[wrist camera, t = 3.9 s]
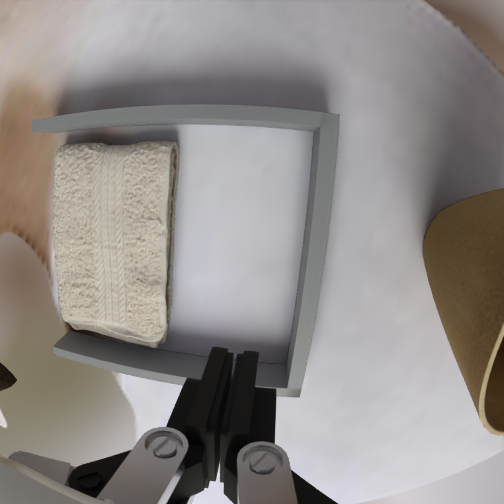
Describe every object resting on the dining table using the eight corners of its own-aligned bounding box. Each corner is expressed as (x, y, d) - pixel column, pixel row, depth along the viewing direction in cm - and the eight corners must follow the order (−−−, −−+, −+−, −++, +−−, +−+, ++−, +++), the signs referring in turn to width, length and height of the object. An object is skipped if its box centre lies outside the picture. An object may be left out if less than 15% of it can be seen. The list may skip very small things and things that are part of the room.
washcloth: (74, 318, 29) (59, 331, 26) (65, 143, 24) (45, 143, 21) (176, 340, 28) (167, 358, 25) (183, 141, 23) (171, 139, 20)
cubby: (55, 122, 23) (32, 120, 19) (330, 121, 22) (339, 114, 18) (71, 338, 29) (54, 354, 26) (297, 373, 28) (299, 397, 25)
